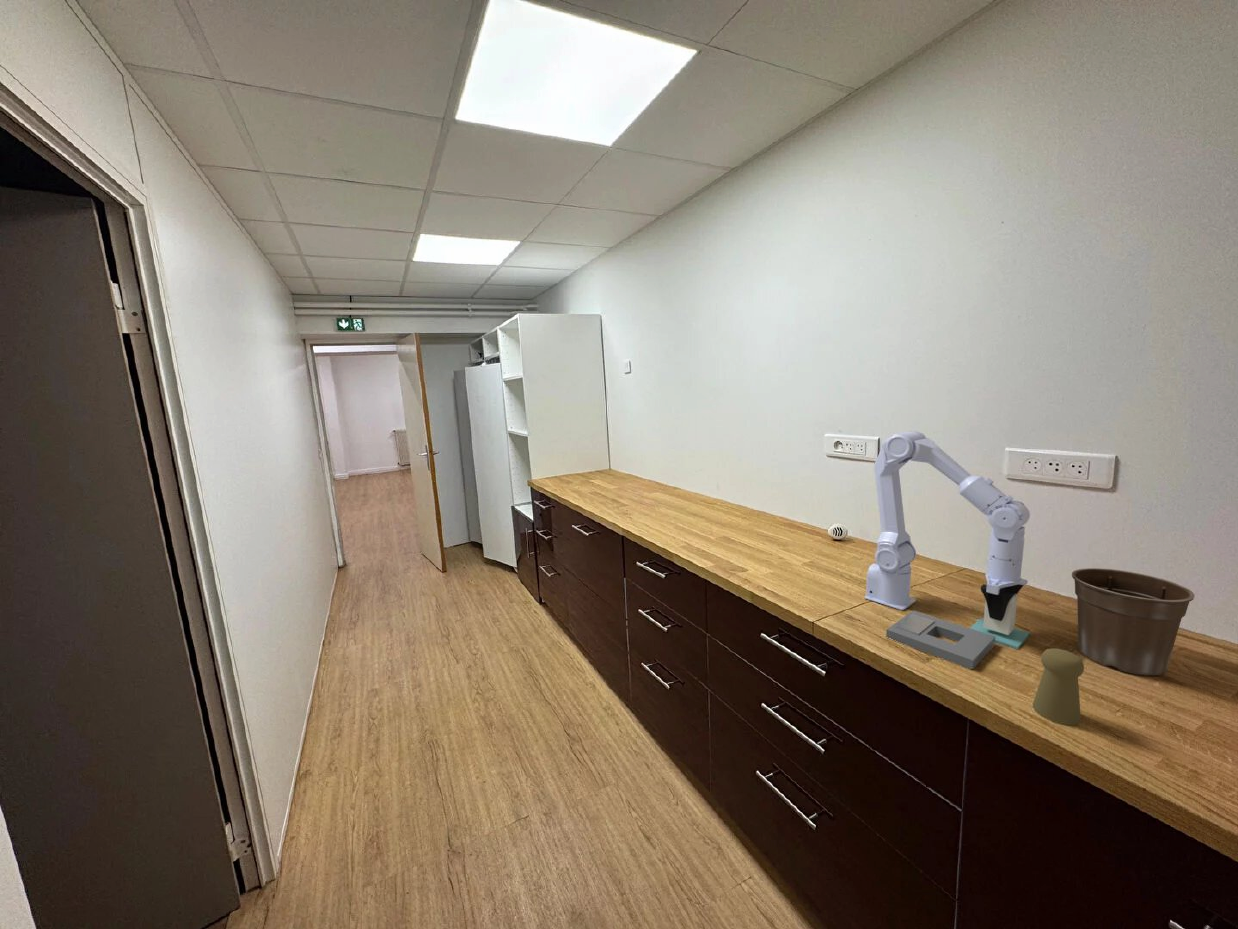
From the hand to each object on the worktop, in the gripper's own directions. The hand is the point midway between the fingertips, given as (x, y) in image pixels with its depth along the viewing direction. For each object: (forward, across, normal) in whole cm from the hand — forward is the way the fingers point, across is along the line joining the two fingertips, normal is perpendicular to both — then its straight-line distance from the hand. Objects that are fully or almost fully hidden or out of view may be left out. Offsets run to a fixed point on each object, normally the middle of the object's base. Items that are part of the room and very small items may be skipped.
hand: (999, 615), depth 104 cm
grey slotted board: (+4, -13, +7) cm, 15 cm away
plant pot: (+5, +6, -18) cm, 20 cm away
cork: (+5, -24, -14) cm, 28 cm away
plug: (+3, 0, 0) cm, 3 cm away
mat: (+4, 0, 0) cm, 4 cm away
